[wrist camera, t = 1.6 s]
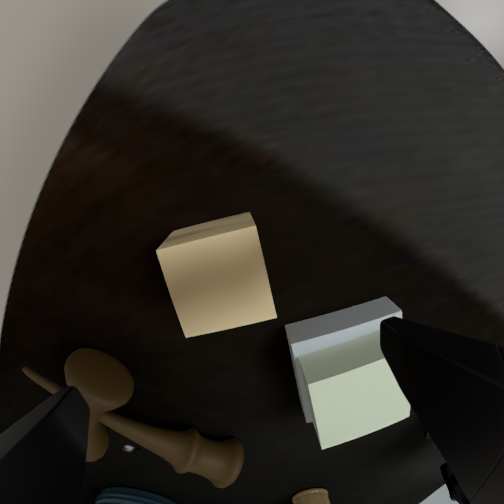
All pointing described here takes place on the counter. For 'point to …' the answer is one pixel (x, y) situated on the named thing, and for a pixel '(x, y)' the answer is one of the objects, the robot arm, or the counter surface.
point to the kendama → (150, 437)
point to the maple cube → (217, 275)
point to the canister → (130, 497)
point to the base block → (334, 334)
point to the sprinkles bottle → (312, 497)
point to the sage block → (351, 390)
